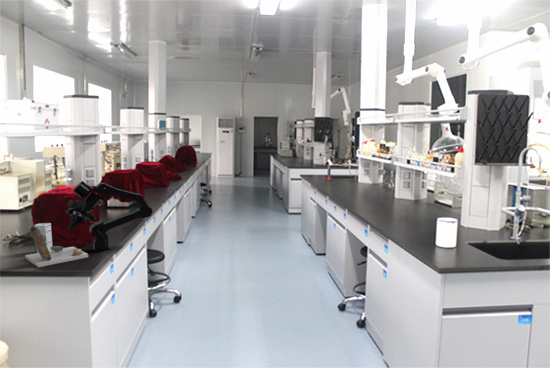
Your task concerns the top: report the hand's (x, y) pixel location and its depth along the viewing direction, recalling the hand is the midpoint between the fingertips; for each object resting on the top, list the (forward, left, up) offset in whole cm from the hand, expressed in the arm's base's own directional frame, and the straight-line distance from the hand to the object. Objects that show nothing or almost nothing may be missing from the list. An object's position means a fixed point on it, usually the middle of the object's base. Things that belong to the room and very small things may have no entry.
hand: (69, 228), depth 199 cm
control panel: (+6, -2, -14) cm, 15 cm away
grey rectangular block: (+4, -8, -11) cm, 14 cm away
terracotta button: (-1, +5, -12) cm, 13 cm away
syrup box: (+7, -18, -14) cm, 24 cm away
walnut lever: (+12, +3, -11) cm, 16 cm away
